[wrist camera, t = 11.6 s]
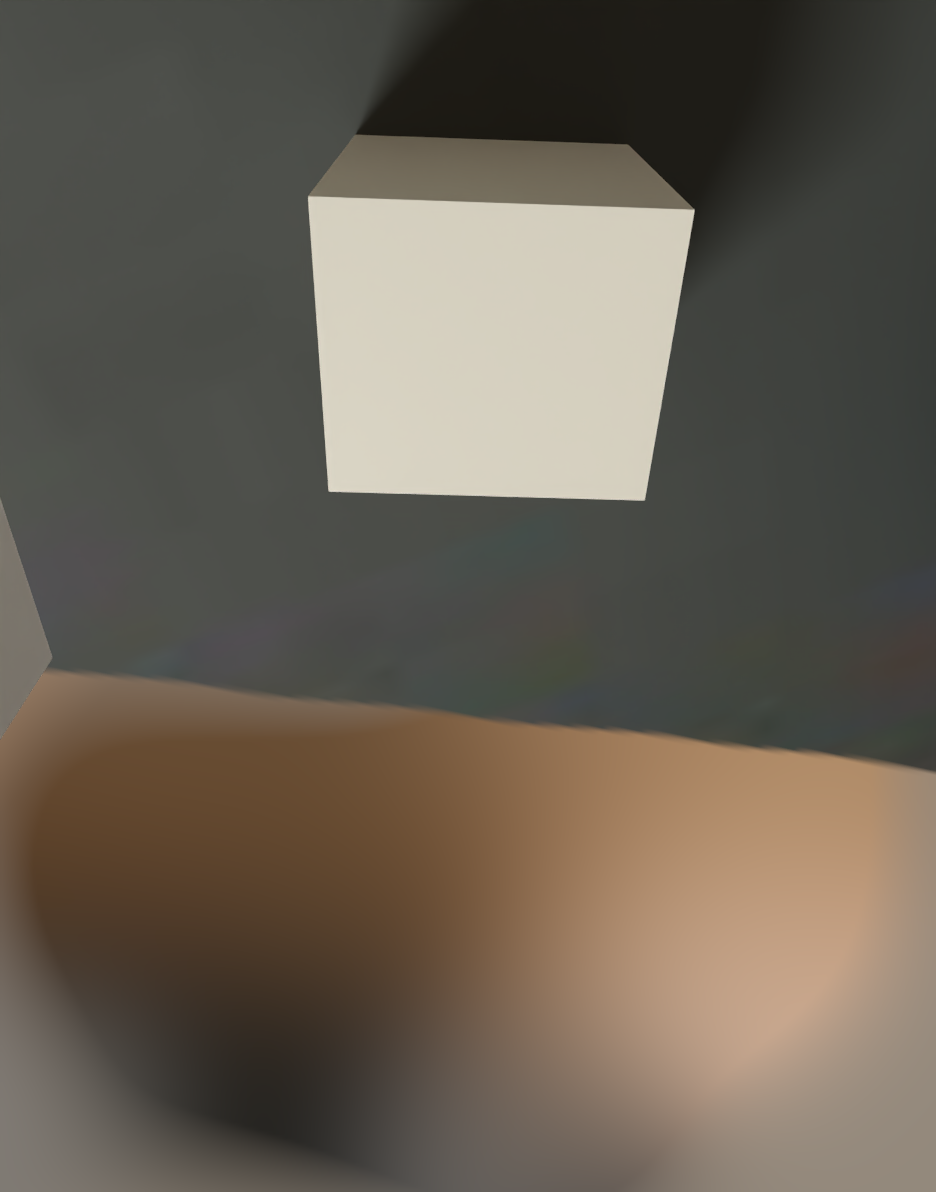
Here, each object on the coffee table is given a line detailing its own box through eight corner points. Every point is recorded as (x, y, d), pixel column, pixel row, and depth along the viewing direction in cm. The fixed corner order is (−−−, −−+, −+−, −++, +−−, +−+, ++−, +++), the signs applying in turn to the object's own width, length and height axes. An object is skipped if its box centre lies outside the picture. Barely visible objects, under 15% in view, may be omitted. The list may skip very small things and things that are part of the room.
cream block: (364, 362, 25) (328, 491, 19) (355, 134, 22) (307, 196, 15) (599, 369, 26) (644, 500, 19) (627, 143, 22) (694, 209, 16)
